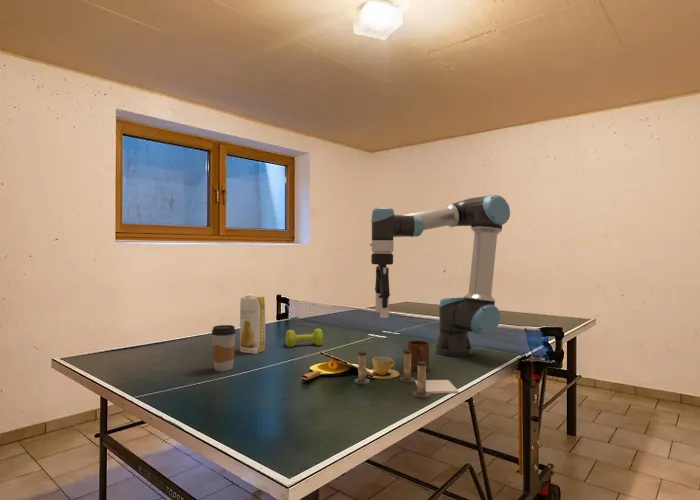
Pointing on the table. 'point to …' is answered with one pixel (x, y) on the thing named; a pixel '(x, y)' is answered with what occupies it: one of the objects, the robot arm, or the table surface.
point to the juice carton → (252, 324)
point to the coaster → (439, 386)
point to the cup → (384, 367)
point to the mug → (419, 353)
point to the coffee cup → (223, 347)
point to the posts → (407, 377)
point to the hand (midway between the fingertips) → (381, 314)
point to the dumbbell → (304, 337)
